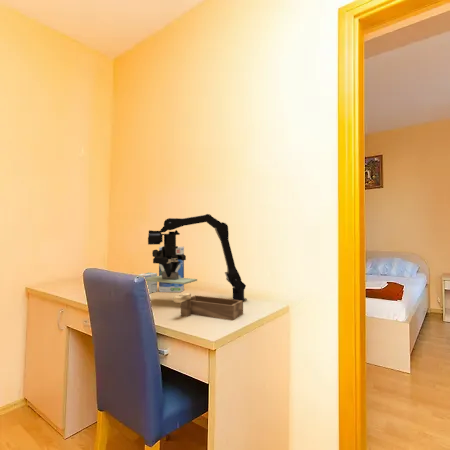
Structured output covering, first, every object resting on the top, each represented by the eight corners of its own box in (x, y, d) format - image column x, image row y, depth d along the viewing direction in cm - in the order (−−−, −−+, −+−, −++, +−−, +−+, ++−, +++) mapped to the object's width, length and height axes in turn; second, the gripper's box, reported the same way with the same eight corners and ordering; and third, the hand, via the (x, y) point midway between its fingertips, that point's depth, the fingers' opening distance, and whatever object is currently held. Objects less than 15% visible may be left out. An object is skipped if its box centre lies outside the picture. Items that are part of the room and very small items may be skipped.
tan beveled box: (185, 297, 134) (185, 293, 134) (191, 298, 132) (190, 293, 132) (173, 302, 127) (173, 297, 127) (179, 302, 125) (179, 297, 125)
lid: (157, 277, 162) (157, 269, 162) (197, 280, 151) (197, 272, 151) (143, 280, 153) (143, 271, 153) (184, 284, 142) (184, 275, 142)
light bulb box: (149, 290, 185) (149, 272, 185) (157, 291, 181) (157, 272, 181) (135, 293, 175) (135, 274, 176) (144, 295, 172) (144, 275, 172)
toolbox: (195, 307, 144) (195, 293, 144) (243, 313, 133) (242, 298, 133) (176, 315, 132) (176, 300, 132) (228, 322, 121) (227, 306, 121)
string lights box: (158, 292, 180) (158, 246, 180) (163, 289, 187) (162, 246, 187) (181, 292, 178) (180, 246, 178) (184, 289, 185) (184, 246, 186)
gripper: (168, 243, 164) (168, 273, 164) (143, 245, 147) (144, 278, 147) (186, 243, 159) (186, 274, 159) (162, 245, 142) (163, 280, 142)
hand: (170, 276), depth 152 cm, fingers closed on lid, 2 cm apart
